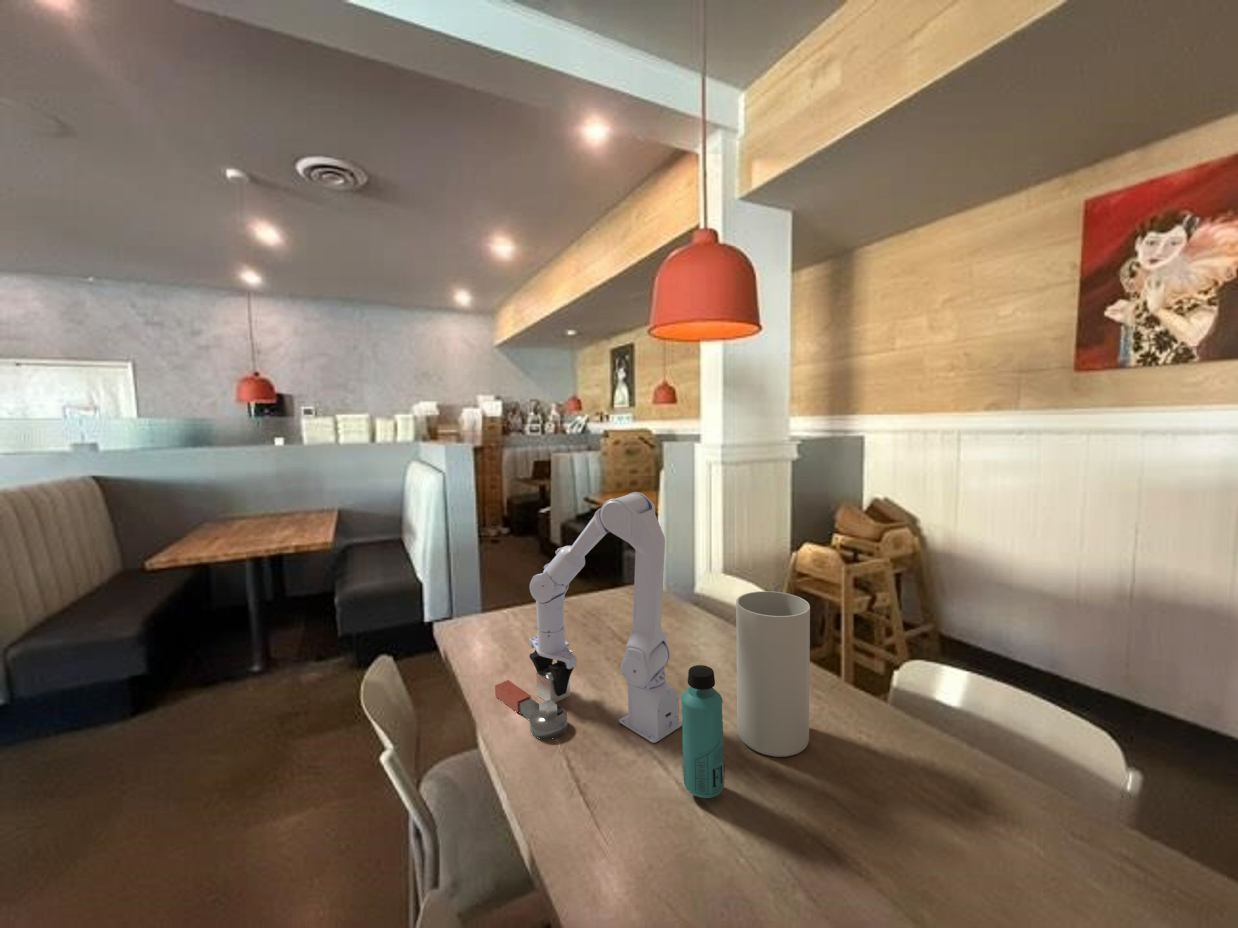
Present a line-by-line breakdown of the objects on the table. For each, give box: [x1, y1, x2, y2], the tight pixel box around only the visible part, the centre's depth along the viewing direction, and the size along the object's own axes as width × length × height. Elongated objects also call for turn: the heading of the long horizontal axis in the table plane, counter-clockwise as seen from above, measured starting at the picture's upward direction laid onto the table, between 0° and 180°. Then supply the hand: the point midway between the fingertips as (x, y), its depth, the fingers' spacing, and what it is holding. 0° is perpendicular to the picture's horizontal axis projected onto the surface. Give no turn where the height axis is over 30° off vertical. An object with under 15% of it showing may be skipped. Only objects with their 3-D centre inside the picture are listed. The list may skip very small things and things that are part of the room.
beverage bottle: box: [680, 664, 726, 799], centre depth 80 cm, size 6×7×20 cm
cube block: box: [535, 668, 571, 703], centre depth 110 cm, size 5×5×5 cm
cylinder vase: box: [735, 590, 811, 758], centre depth 93 cm, size 12×12×25 cm
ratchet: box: [494, 679, 568, 740], centre depth 103 cm, size 21×7×5 cm, turn 43°
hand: (553, 689), depth 110 cm, fingers open, 5 cm apart
